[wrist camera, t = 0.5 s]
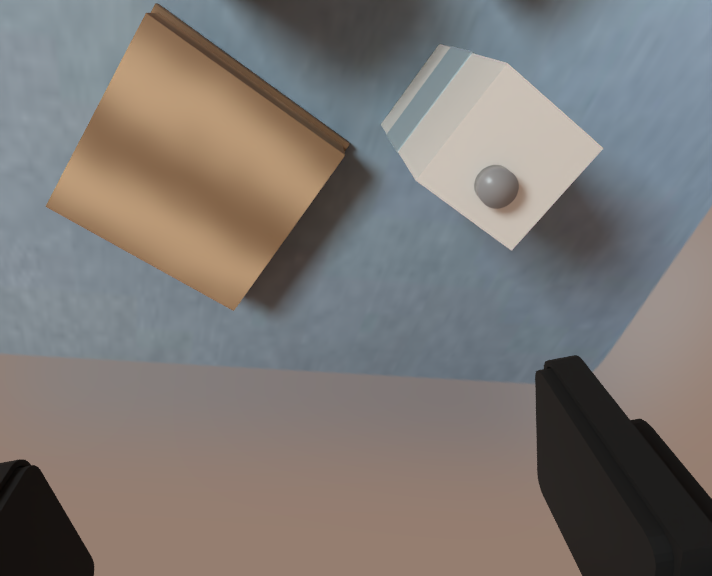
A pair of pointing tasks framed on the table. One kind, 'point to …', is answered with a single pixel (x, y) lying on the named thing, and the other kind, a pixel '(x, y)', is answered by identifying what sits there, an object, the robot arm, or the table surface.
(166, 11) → the plinth
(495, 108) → the slim carton
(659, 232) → the table surface
